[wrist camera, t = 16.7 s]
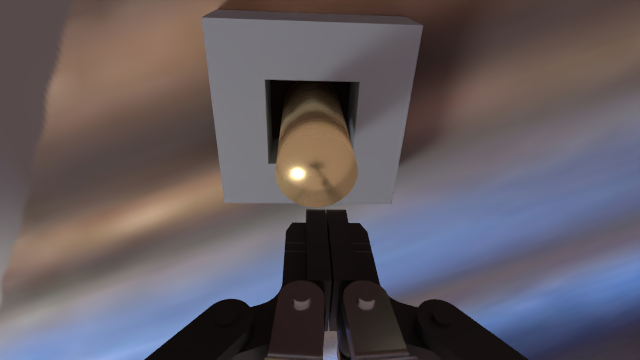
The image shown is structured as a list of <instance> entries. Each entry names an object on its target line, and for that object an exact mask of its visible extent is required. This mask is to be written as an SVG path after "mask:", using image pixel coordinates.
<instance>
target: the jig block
mask: <svg viewBox="0 0 640 360" xmlns="http://www.w3.org/2000/svg"><path fill="white" fill-rule="evenodd" d="M201 18H202V26H203V34H204V42H205V50H206V58H207V66H208V74H209V82H210V90H211V98H212V106H213V114H214V122H215V130H216V138H217V146H218V154H219V163H220V171H221V179H222V187H223V195H224V203H295V202H293V201H292V200H290V199H289V198H287V197H286V196H285V195H284V194H283V192H282V191H281V190H280V188H279V186H278V184H277V181H276V176H275V168H276V160H277V152H278V144H279V139H273V138H272V109H271V80H303V81H342V82H350V91H349V103H348V115H347V130H348V134H349V137H350V141H351V144H352V148H353V152H354V155H355V159H356V162H357V167H358V175H357V180H356V182H355V185H354V187H353V188H352V190H351V191H350V192H349V193H348V195H346V196H345V197H344V198H343V199H341V200H340V201H338V202H336V203H335V204H392V199H393V194H394V188H395V182H396V177H397V171H398V165H399V160H400V154H401V148H402V143H403V137H404V131H405V126H406V120H407V114H408V109H409V103H410V97H411V92H412V86H413V80H414V75H415V69H416V63H417V58H418V52H419V46H420V41H421V35H422V29H423V25H421V24H419V23H417V22H415V21H413V20H411V19H409V18H407V17H405V16H379V15H352V14H325V13H298V12H272V11H245V10H218V9H217V10H215V11H213V12H211V13H209V14H207V15H205V16H203V17H201Z"/></svg>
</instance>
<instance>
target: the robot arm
mask: <svg viewBox="0 0 640 360" xmlns="http://www.w3.org/2000/svg"><path fill="white" fill-rule="evenodd" d="M328 319H329V331H337V337H338V346H337V358H338V360H528V359H527V358H526V357H524V356H523V355H521V354H520V353H519V352H517V351H516V350H514V349H513V348H512V347H510V346H509V345H508V344H506V343H505V342H503V341H502V340H501V339H499V338H498V337H496V336H495V335H494V334H492V333H491V332H490V331H488V330H487V329H485V328H484V327H483V326H481V325H480V324H478V323H477V322H476V321H474V320H473V319H472V318H470V317H469V316H467V315H466V314H465V313H463V312H462V311H460V310H459V309H458V308H456V307H455V306H453V305H452V304H450V303H448V302H445V301H442V300H436V299H432V300H427V301H424V302H423V303H421V305H420V306H419V307H418V308H417V307H414V306H410V305H406V304H403V303H400V302H397V301H395V300H394V299H392V298H390V297H389V296H388V295H387V293H386V291H385V290H384V289H383V288H382V287H381V286H380V283H379V279H378V275H377V271H376V266H375V262H374V258H373V254H372V250H371V246H370V241H369V237H368V233H367V231H366V230H365V229H364V228H363V227H362V225H361V224H360V223H348V218H347V213H346V210H326V211H325V210H314V209H306V223H292V224H291V225H290V227H289V228H288V229H287V231H286V240H285V254H284V268H283V283H282V287H281V290H280V291H279V293H278V294H277V295H276V296H275V297H274V298H273V299H271V300H270V301H268V302H266V303H263V304H260V305H257V306H253V307H249V306H248V305H247V304H246V303H245V302H243V301H241V300H237V299H226V300H222V301H219V302H217V303H215V304H213V305H212V306H210V307H209V308H208V309H207V310H206V311H204V312H203V313H202V314H201V315H199V316H198V317H197V318H196V319H194V320H193V321H192V322H191V323H189V324H188V325H187V326H186V327H184V328H183V329H182V330H181V331H179V332H178V333H177V334H176V335H174V336H173V337H172V338H171V339H169V340H168V341H167V342H166V343H164V344H163V345H162V346H161V347H159V348H158V349H157V350H156V351H155V352H153V353H152V354H151V355H150V356H148V357H147V358H146V359H145V360H323V343H324V331H328Z"/></svg>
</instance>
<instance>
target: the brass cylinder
mask: <svg viewBox="0 0 640 360" xmlns="http://www.w3.org/2000/svg"><path fill="white" fill-rule="evenodd" d="M357 175H358V167H357V162H356V159H355V155H354V152H353V148H352V144H351V141H350V137H349V134H348V130H347V127H346V123H345V119H344V116H343V112H342V109H341V105H340V102H339V98H338V95H337V92H336V90H335V89H334V87H333V86H332V85H331V84H330V83H329V82H327V81H303V80H297V81H296V82H294V83H293V84H292V85H291V86H290V87H289V89H288V90H287V92H286V95H285V98H284V105H283V113H282V121H281V129H280V137H279V144H278V152H277V160H276V168H275V176H276V181H277V184H278V186H279V188H280V190H281V191H282V192H283V194H284V195H285V196H286V197H287V198H289V199H290V200H292V201H293V202H295V203H297V204H300V205H303V206H307V207H324V206H328V205H332V204H334V203H336V202H338V201H340V200H341V199H343V198H344V197H345V196H346V195H348V193H349V192H350V191H351V190H352V188H353V187H354V185H355V182H356V180H357Z"/></svg>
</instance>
